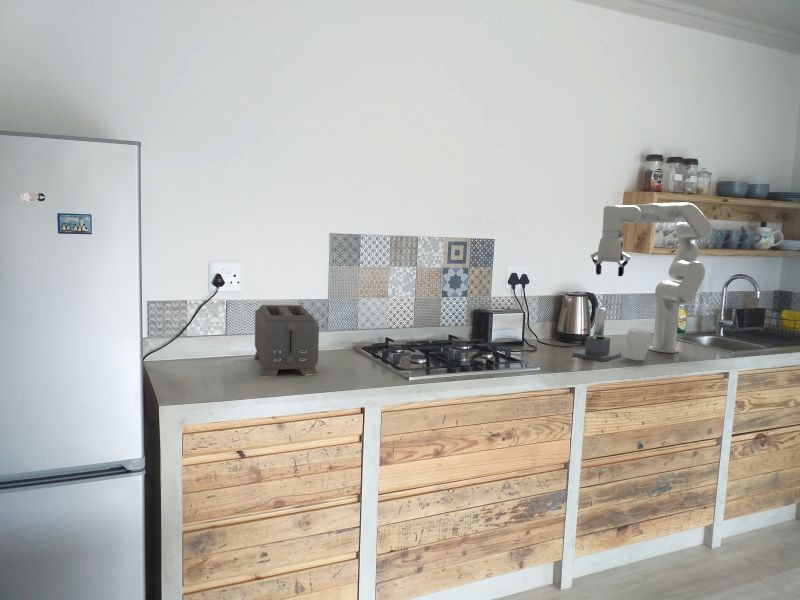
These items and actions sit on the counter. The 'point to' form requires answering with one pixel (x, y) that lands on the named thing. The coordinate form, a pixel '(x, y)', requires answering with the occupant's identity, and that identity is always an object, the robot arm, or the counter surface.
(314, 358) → the toaster
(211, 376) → the counter surface
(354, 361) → the counter surface
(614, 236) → the robot arm
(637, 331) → the cup
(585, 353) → the stand base
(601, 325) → the column
